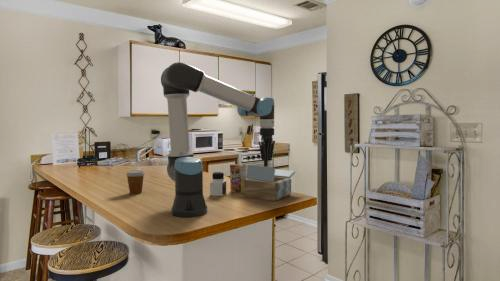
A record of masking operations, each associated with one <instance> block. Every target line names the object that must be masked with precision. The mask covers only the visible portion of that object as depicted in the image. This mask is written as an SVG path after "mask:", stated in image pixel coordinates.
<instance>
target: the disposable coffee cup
mask: <svg viewBox="0 0 500 281" xmlns="http://www.w3.org/2000/svg"><path fill="white" fill-rule="evenodd" d="M125 175H126V177H127V184H128V190H129V191H128V192H129V194H130V195H139V194H142V193H143V186H144V176H145V171H144V170H139V169H138V170H128V171H126V174H125Z"/></svg>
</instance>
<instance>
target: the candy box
mask: <svg viewBox="0 0 500 281" xmlns="http://www.w3.org/2000/svg"><path fill="white" fill-rule="evenodd" d="M246 166H247V165H244V164H236V163H232V164H229V180H230V182H229V183H230V186H229V188H230V189H229V190H230V192H234V193H237V194H245V179H247V178H246V175H247V170H246V169H247V167H246Z"/></svg>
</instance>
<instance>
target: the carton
mask: <svg viewBox="0 0 500 281" xmlns="http://www.w3.org/2000/svg"><path fill="white" fill-rule="evenodd" d="M291 193H292V179H291V178H282V177H274V182H272V181H263V180H255V179H247V178H246V179H245V193H244V196H245V197H247V198H252V199H259V200H265V201H270V202H277V201H278V200H282V199H284V198H286V197H289V196H291Z"/></svg>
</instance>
